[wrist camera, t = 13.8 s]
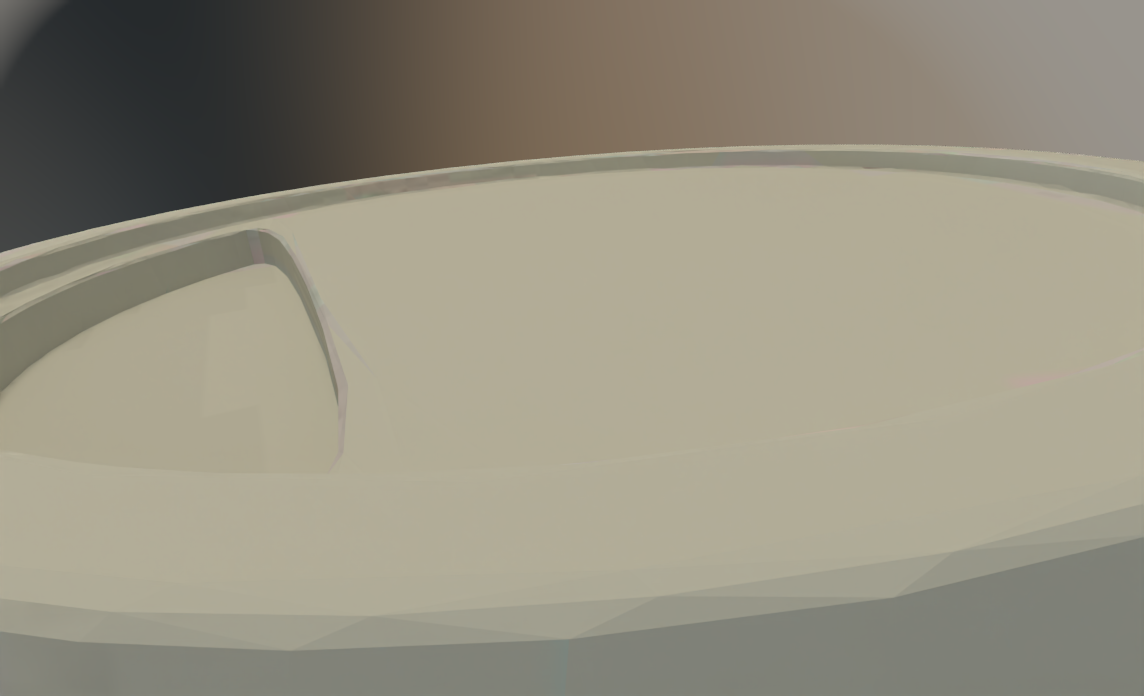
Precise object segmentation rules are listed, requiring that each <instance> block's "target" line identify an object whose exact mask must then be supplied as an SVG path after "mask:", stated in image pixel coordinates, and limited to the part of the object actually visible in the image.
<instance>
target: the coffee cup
mask: <svg viewBox="0 0 1144 696" xmlns="http://www.w3.org/2000/svg"><path fill="white" fill-rule="evenodd" d="M0 696H1144V162H1143V161H1134V160H1125V159H1115V158H1106V157H1097V156H1089V155H1079V154H1070V153H1069V154H1068V153H1056V152H1042V151H1027V150H1013V149H1000V148H976V147H975V148H974V147H952V146H919V145H917V146H916V145H779V146H778V145H777V146H737V147H716V148H715V147H714V148H690V149H671V150H653V151H637V152H621V153H608V154H595V155H594V154H593V155H579V156H568V157H555V158H544V159H533V160H521V161H511V162H501V163H491V164H483V165H474V166H464V167H455V168H445V169H436V170H429V171H420V172H413V173H404V174H396V175H388V176H381V177H374V178H367V179H360V180H353V181H346V182H339V183H332V184H325V185H319V186H312V187H306V188H300V189H294V190H288V191H282V192H275V193H269V194H264V195H258V196H251V197H245V198H240V199H235V200H229V201H224V202H219V203H213V204H208V205H203V206H198V207H193V208H187V209H182V210H176V211H171V212H167V213H162V214H157V215H153V216H149V217H144V218H139V219H135V220H130V221H126V222H121V223H116V224H112V225H107V226H103V227H98V228H94V229H90V230H86V231H82V232H78V233H74V234H70V235H66V236H62V237H58V238H54V239H50V240H46V241H43V242H38V243H34V244H31V245H27V246H23V247H20V248H16V249H13V250H9V251H6V252H2V253H0Z"/></svg>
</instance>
